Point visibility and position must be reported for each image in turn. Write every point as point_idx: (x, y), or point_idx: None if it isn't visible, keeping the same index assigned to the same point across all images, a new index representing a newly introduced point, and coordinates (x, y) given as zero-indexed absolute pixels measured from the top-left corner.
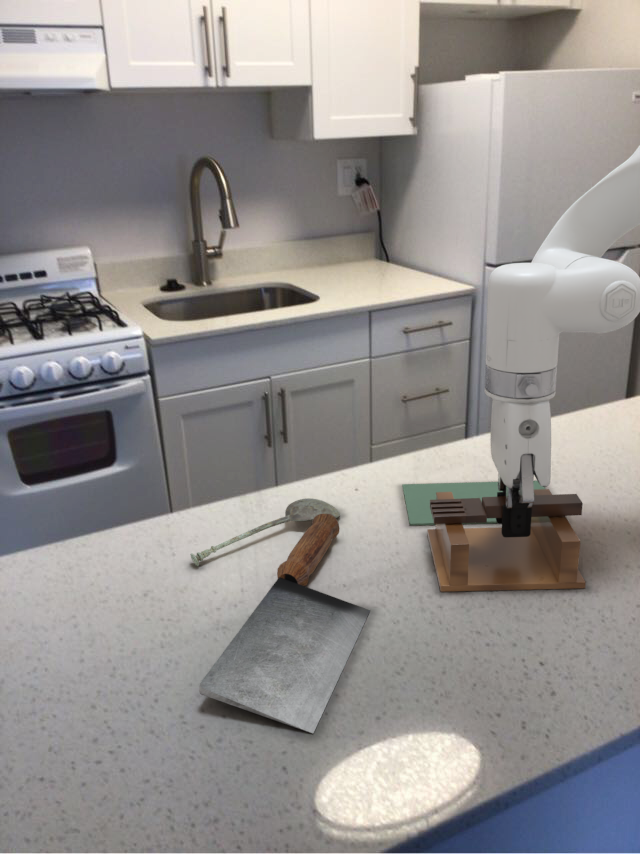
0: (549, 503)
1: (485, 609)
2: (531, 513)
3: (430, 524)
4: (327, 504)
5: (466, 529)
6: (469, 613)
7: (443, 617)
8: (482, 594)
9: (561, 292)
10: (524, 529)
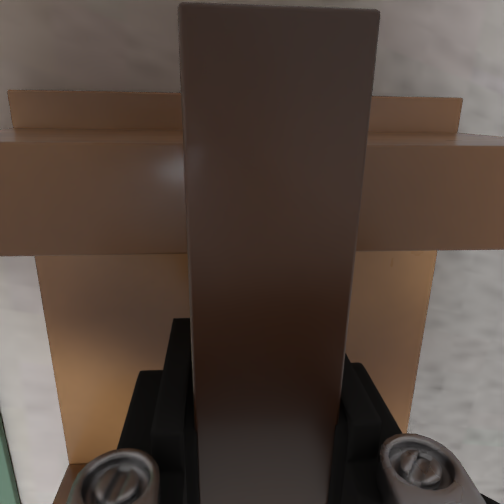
0: (344, 296)
1: (481, 399)
2: (359, 382)
3: (18, 498)
4: None
5: (71, 421)
6: (487, 434)
7: (488, 483)
8: (416, 399)
9: None
10: (364, 369)
